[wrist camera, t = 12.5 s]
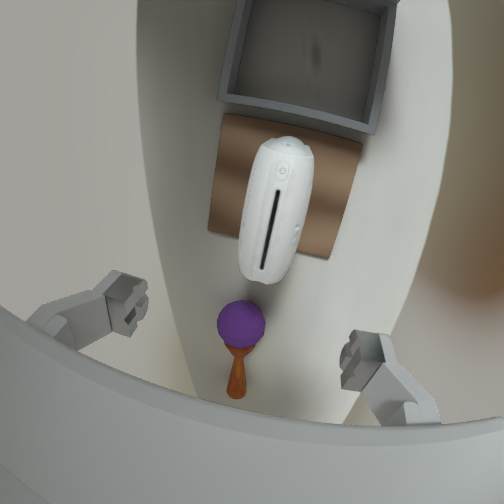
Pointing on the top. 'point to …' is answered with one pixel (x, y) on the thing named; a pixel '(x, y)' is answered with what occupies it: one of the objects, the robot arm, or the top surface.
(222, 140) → the walnut board
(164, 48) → the top surface
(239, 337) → the maraca
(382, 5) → the equipment case
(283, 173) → the photo printer
